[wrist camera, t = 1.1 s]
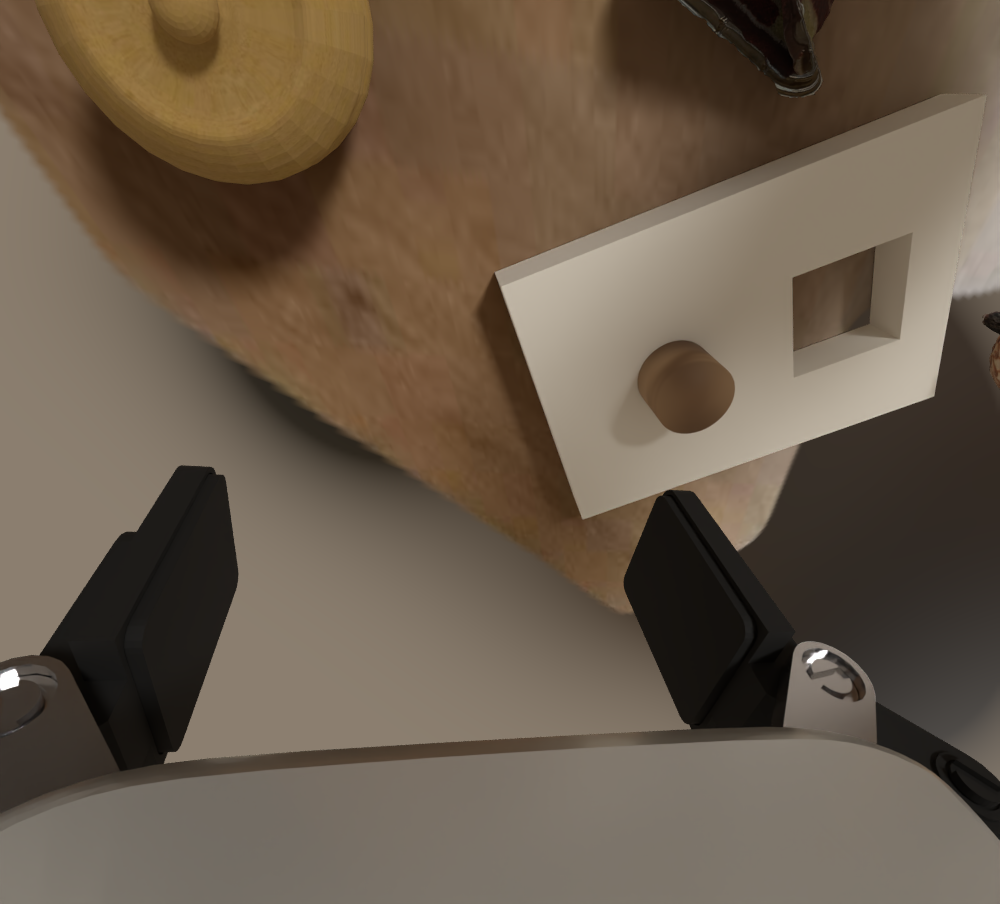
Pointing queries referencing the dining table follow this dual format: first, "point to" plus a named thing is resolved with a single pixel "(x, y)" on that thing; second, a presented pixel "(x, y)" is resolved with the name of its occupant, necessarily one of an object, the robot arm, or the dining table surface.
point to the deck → (751, 303)
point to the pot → (222, 77)
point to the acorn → (996, 323)
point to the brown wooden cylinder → (685, 387)
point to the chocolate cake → (771, 37)
